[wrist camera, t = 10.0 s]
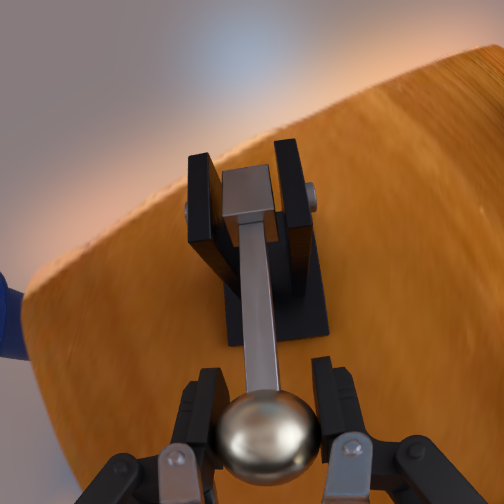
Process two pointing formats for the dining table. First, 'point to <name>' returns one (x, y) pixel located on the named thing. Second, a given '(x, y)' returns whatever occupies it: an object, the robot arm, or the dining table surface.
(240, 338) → the switch bracket
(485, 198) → the dining table surface
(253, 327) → the switch lever
